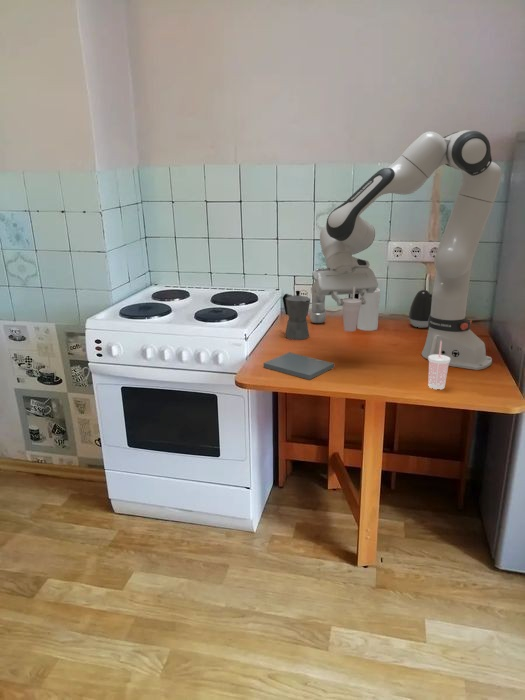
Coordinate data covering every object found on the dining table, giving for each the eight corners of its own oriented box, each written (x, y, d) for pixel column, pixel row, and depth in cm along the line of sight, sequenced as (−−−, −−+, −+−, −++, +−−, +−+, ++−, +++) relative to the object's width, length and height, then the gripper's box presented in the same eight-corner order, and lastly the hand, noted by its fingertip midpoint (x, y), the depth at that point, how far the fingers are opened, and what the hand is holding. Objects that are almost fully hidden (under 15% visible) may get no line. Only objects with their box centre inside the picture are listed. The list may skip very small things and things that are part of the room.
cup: (379, 330, 215) (381, 291, 210) (358, 330, 215) (360, 291, 210) (375, 325, 223) (377, 287, 218) (355, 325, 223) (357, 287, 218)
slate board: (334, 367, 174) (334, 363, 173) (309, 379, 163) (309, 375, 163) (289, 356, 185) (289, 352, 184) (263, 367, 174) (263, 362, 174)
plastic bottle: (327, 321, 228) (329, 274, 222) (322, 325, 222) (324, 277, 216) (313, 320, 231) (314, 273, 225) (307, 324, 225) (308, 276, 219)
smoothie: (361, 332, 169) (364, 288, 164) (340, 332, 169) (343, 288, 165) (358, 327, 175) (361, 284, 171) (338, 326, 175) (340, 284, 171)
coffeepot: (317, 338, 205) (319, 292, 199) (298, 342, 200) (299, 295, 194) (292, 329, 217) (292, 285, 211) (273, 333, 212) (273, 288, 206)
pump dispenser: (433, 330, 215) (437, 293, 210) (407, 328, 218) (410, 291, 213) (434, 324, 224) (438, 288, 219) (408, 322, 227) (411, 286, 222)
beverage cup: (448, 384, 160) (453, 339, 155) (446, 391, 154) (451, 345, 150) (426, 381, 162) (431, 337, 158) (424, 388, 157) (428, 342, 152)
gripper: (313, 263, 169) (324, 300, 163) (373, 261, 174) (385, 297, 169) (308, 274, 175) (318, 311, 169) (366, 272, 180) (377, 307, 174)
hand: (352, 304), depth 169 cm, fingers closed on smoothie, 6 cm apart
